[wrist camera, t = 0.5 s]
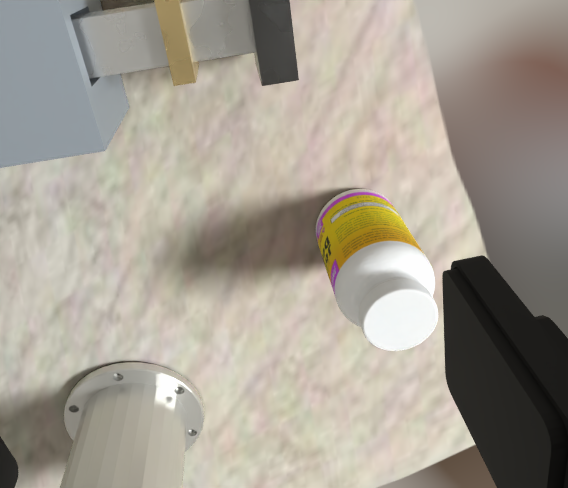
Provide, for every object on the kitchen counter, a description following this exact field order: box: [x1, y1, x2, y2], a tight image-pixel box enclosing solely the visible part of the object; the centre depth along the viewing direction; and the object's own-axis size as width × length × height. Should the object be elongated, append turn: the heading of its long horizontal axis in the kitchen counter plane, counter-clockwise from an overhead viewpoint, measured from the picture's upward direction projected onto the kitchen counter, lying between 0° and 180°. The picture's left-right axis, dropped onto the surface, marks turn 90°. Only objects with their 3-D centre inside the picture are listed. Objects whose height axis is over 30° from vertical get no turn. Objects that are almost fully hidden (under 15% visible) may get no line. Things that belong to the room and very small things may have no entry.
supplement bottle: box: [316, 189, 438, 351], centre depth 38 cm, size 7×7×13 cm
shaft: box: [70, 0, 299, 86], centre depth 30 cm, size 6×14×6 cm, turn 98°
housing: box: [0, 0, 129, 168], centre depth 31 cm, size 10×8×9 cm
